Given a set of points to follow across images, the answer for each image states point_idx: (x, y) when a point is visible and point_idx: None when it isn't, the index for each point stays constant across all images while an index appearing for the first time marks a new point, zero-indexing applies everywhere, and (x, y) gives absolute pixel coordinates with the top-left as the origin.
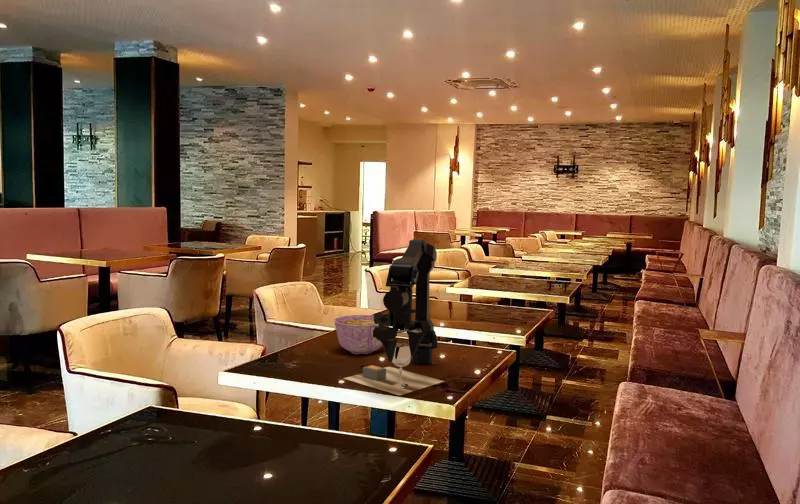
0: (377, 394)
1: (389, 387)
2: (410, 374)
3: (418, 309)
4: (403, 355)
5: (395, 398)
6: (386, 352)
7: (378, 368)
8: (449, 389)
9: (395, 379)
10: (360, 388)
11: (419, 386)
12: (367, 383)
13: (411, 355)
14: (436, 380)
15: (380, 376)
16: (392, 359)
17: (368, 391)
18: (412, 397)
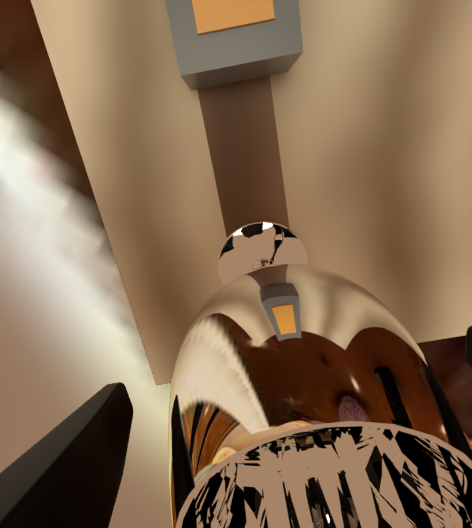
0: (97, 266)
1: (185, 258)
2: None
3: None
4: (247, 502)
5: (147, 358)
6: (18, 474)
7: (238, 7)
8: (451, 382)
9: (325, 135)
10: (54, 110)
11: None
12: (103, 104)
13: (468, 347)
14: None
15: (229, 77)
16: (123, 438)
17: (75, 194)
18: None
